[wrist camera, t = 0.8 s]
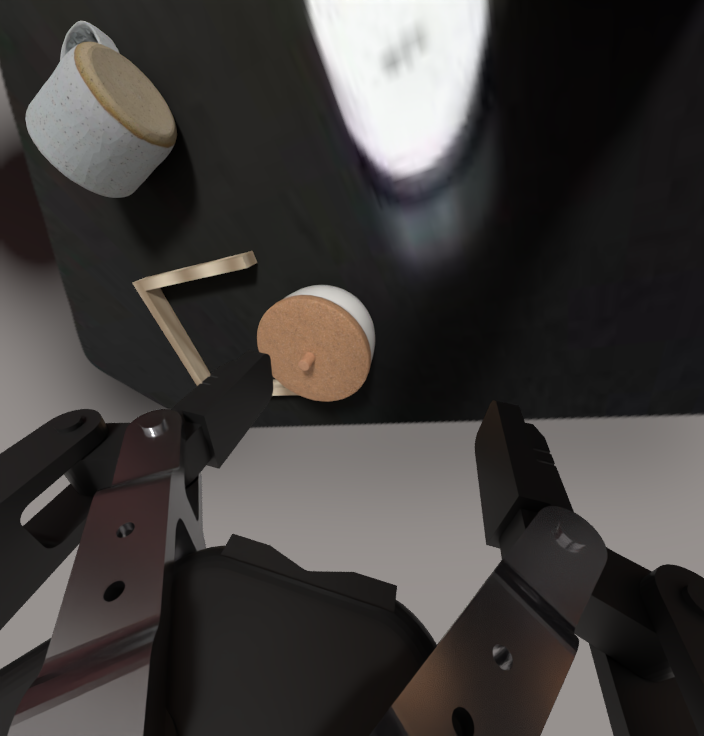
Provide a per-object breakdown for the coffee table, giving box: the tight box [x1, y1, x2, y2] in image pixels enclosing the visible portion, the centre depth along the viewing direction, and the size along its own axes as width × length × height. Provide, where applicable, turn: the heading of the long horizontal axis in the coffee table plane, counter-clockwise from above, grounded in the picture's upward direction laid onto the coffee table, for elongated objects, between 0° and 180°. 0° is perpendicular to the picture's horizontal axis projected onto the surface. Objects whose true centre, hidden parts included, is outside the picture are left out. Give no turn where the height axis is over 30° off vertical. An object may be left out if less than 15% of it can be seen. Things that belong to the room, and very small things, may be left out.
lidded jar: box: [257, 285, 375, 401], centre depth 29 cm, size 11×11×9 cm
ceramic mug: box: [25, 21, 177, 198], centre depth 23 cm, size 11×8×8 cm
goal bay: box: [133, 251, 297, 396], centre depth 37 cm, size 16×17×2 cm
